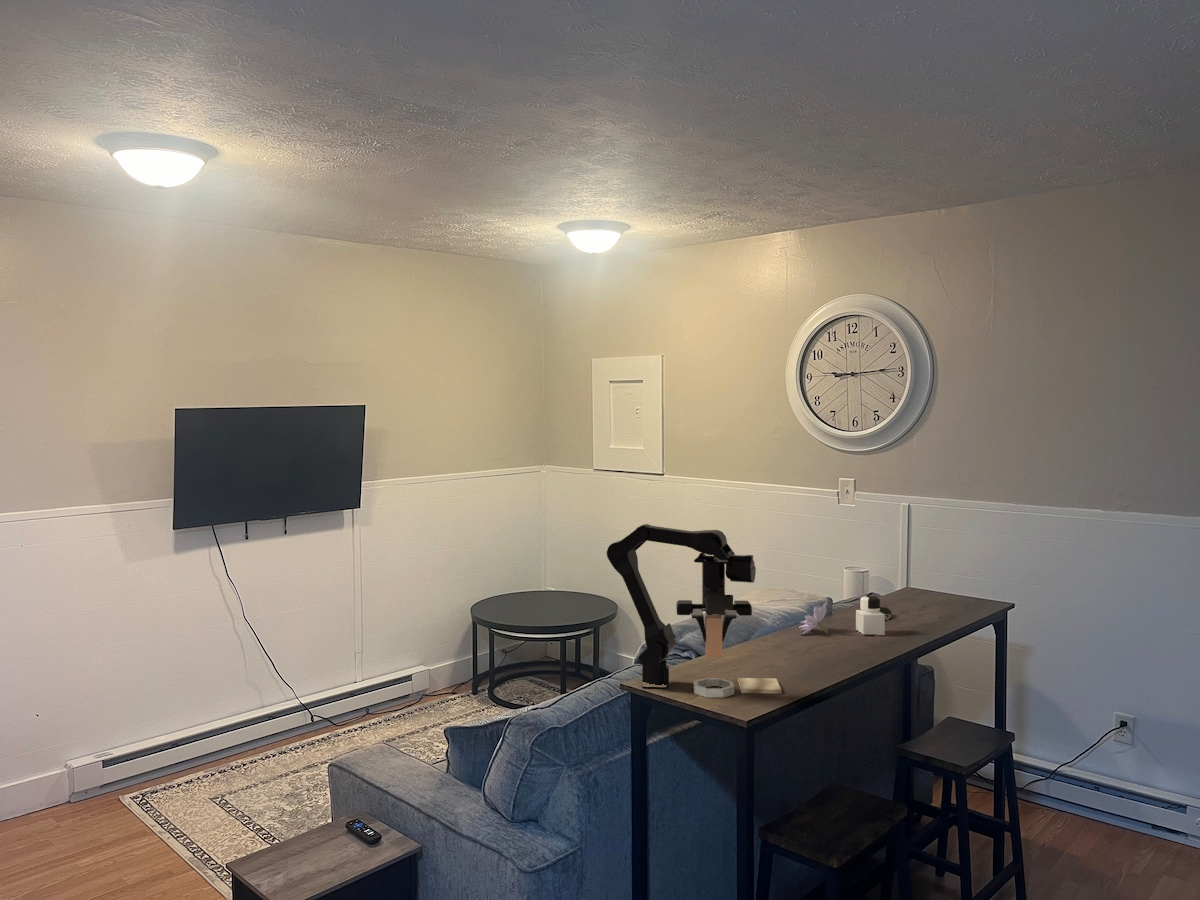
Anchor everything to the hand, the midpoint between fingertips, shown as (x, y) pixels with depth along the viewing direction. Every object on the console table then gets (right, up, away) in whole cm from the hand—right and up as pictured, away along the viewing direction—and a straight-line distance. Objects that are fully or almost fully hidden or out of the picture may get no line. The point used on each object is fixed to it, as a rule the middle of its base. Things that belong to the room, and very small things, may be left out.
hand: (713, 641), depth 225 cm
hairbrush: (+65, -11, +80) cm, 104 cm away
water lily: (+41, -11, +64) cm, 77 cm away
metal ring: (0, -13, 0) cm, 13 cm away
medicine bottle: (+59, -11, +62) cm, 86 cm away
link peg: (0, -4, 0) cm, 4 cm away
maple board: (+12, -13, +4) cm, 18 cm away
